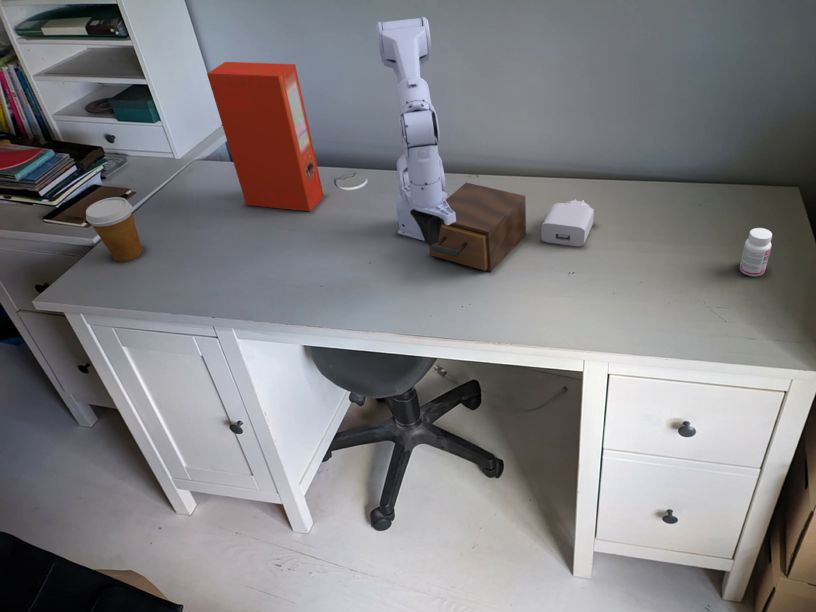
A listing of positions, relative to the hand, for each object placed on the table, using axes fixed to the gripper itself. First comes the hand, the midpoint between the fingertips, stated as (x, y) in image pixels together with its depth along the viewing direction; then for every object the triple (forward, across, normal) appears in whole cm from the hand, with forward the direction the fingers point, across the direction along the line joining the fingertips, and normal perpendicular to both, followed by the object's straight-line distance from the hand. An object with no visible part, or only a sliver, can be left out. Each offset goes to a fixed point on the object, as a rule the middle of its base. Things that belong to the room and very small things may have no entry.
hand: (432, 242), depth 135 cm
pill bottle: (+10, -38, -49) cm, 63 cm away
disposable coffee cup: (+11, +58, +44) cm, 74 cm away
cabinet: (+10, +6, -16) cm, 20 cm away
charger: (+11, -2, -35) cm, 37 cm away
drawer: (+9, +5, -12) cm, 16 cm away
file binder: (+11, +55, +6) cm, 56 cm away
